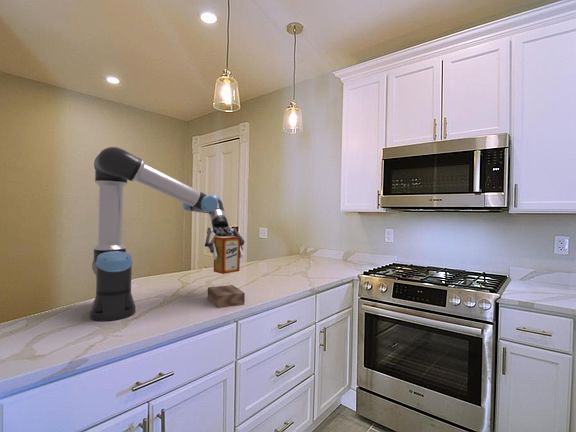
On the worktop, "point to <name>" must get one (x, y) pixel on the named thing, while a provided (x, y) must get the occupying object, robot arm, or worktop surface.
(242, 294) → the block
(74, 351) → the worktop surface
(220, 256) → the orange cardboard box
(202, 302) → the worktop surface
